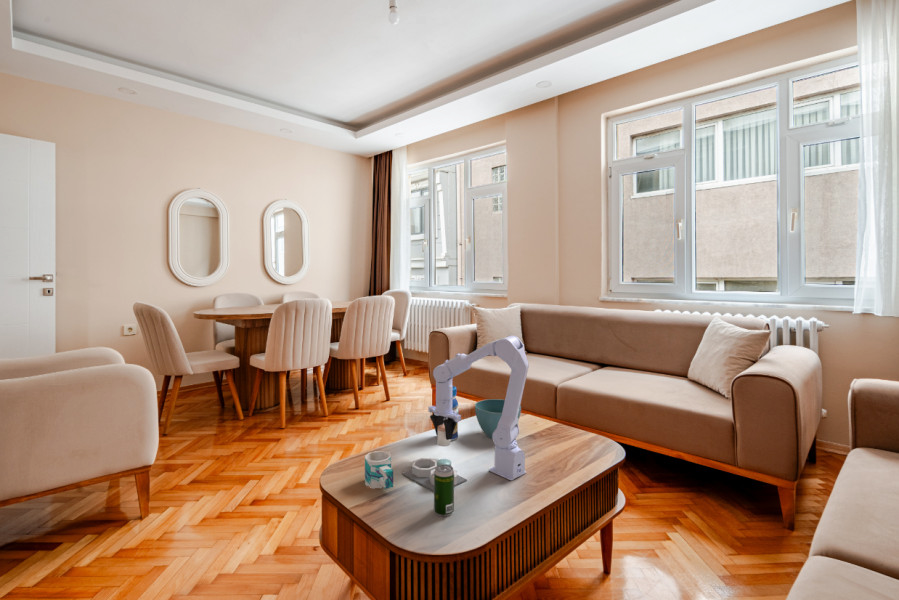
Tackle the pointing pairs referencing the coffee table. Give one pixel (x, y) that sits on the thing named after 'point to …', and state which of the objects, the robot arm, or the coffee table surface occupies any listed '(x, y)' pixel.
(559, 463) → the coffee table surface
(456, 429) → the beverage bottle
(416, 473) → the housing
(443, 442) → the rounded-end tube
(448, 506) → the beer can
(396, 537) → the coffee table surface
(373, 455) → the mug
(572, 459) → the coffee table surface
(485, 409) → the teal bowl
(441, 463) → the teal-capped white cylinder
